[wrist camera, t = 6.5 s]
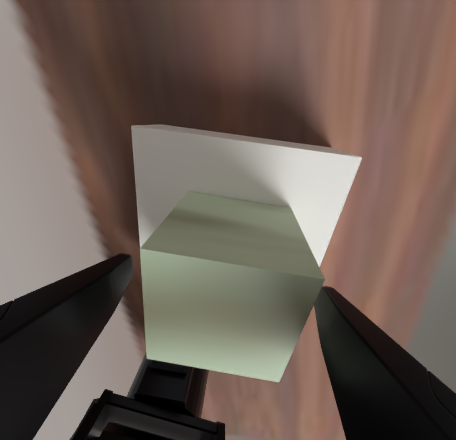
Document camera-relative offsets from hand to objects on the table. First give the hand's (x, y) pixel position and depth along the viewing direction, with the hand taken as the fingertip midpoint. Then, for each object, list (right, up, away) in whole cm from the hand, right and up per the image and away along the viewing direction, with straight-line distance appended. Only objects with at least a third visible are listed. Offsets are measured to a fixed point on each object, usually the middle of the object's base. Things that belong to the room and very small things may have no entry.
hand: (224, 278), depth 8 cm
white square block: (+1, +3, +6) cm, 7 cm away
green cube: (0, +1, +3) cm, 3 cm away
